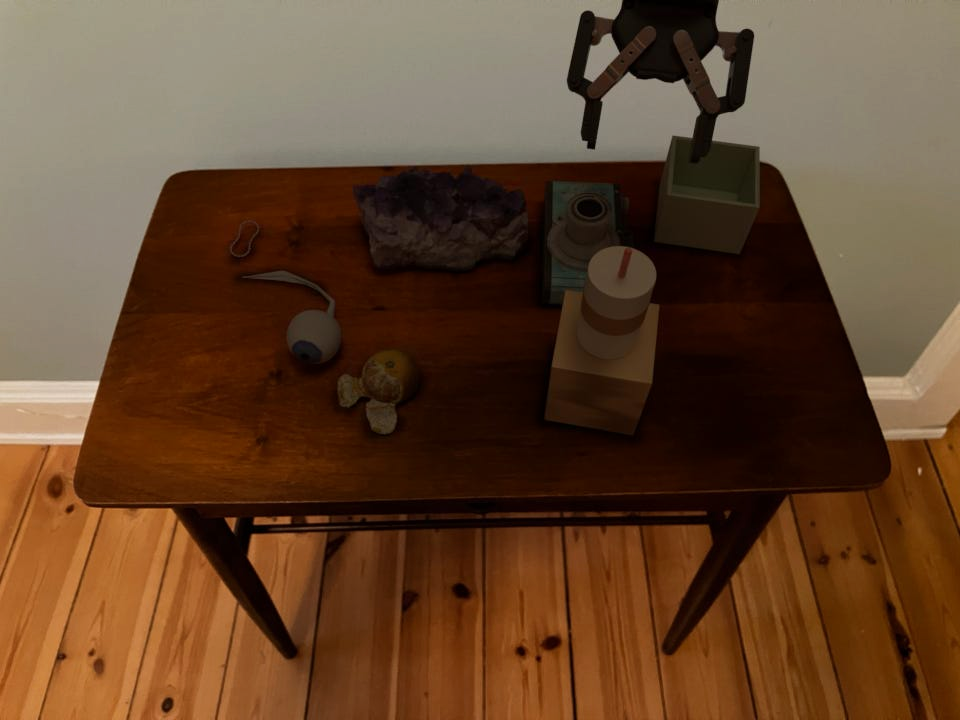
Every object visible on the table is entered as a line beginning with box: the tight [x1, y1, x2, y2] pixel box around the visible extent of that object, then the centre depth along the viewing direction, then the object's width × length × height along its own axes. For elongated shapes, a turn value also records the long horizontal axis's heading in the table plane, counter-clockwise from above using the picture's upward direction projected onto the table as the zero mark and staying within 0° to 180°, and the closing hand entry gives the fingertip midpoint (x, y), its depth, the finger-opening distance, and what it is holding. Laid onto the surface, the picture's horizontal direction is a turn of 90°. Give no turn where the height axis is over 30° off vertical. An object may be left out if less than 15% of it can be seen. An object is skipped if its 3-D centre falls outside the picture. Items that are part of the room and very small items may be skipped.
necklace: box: [229, 219, 261, 258], centre depth 87 cm, size 2×5×1 cm, turn 167°
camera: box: [541, 180, 635, 306], centre depth 83 cm, size 16×10×10 cm
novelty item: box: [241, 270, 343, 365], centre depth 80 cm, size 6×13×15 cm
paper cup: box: [577, 246, 657, 360], centre depth 63 cm, size 6×6×13 cm
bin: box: [653, 135, 761, 255], centre depth 87 cm, size 10×10×8 cm
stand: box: [543, 290, 660, 436], centre depth 72 cm, size 9×9×10 cm
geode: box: [352, 165, 530, 272], centre depth 84 cm, size 20×12×10 cm, turn 91°
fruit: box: [336, 349, 421, 435], centre depth 75 cm, size 8×8×4 cm
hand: (641, 155), depth 62 cm, fingers open, 8 cm apart
